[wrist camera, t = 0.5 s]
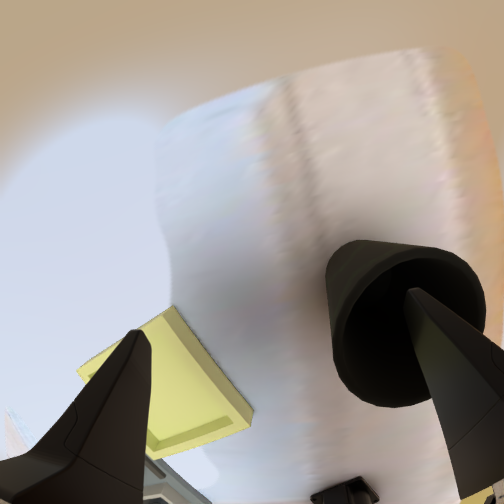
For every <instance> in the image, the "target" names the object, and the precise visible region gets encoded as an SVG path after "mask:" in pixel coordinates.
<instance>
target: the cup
mask: <svg viewBox="0 0 504 504" xmlns="http://www.w3.org/2000/svg"><path fill="white" fill-rule="evenodd" d="M325 278H326V287H327V296H328V306H329V315H330V326H331V336H332V348H333V361H334V363H335V366H336V369H337V372H338V375H339V378H340V379H341V380H342V382H343V383H344V384H345V386H346V387H347V388H348V390H349V391H350V392H351V393H353V394H354V395H355V396H357V397H358V398H359V399H361V400H362V401H365V402H367V403H370V404H373V405H375V406H379V407H389V408H398V407H406V406H412V405H415V404H418V403H421V402H423V401H426V400H429V399H431V398H432V397H431V394H430V391H429V388H428V385H427V383H426V380H425V377H424V374H423V372H422V369H421V366H420V364H419V361H418V358H417V356H416V353H415V350H414V347H413V343H412V340H411V336H410V332H409V329H408V325H407V322H406V319H405V315H404V311H403V306H404V301H405V297H406V293H407V291H408V290H409V289H412V288H420V289H422V290H423V291H425V292H426V293H428V294H429V295H430V296H432V297H433V298H435V299H436V300H437V301H439V302H440V303H442V304H443V305H444V306H446V307H447V308H448V309H450V310H451V311H453V312H454V313H455V314H457V315H458V316H459V317H461V318H462V319H463V320H465V321H466V322H467V323H469V324H470V325H471V326H473V327H474V328H475V329H477V330H478V331H479V332H481V333H482V334H483V332H484V328H485V319H486V304H485V296H484V291H483V289H482V286H481V283H480V281H479V279H478V276H477V275H476V274H475V272H474V271H473V270H472V268H471V267H470V266H469V265H468V263H467V262H465V261H464V260H462V259H461V258H460V257H458V256H457V255H455V254H454V253H452V252H448V251H445V250H442V249H438V248H434V247H425V246H416V245H407V244H398V243H388V242H379V241H369V240H356V241H352V242H349V243H347V244H345V245H343V246H341V247H340V248H339V249H338V250H337V251H336V252H335V253H334V254H333V256H332V257H331V259H330V260H329V263H328V265H327V268H326V275H325Z"/></svg>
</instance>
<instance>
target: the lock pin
mask: <svg viewBox="0 0 504 504" xmlns="http://www.w3.org/2000/svg"><path fill="white" fill-rule="evenodd" d="M149 504H169V503H168V502H166V501H165V500H164V499H163V498H161V497H159V498H153V499H151V500H150V503H149Z"/></svg>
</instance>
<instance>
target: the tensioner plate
mask: <svg viewBox="0 0 504 504" xmlns="http://www.w3.org/2000/svg"><path fill="white" fill-rule="evenodd" d="M159 497H161V498H163V499H164V500H165V501H166V502H168V503H169V504H212V503H211V502H210V501H209V500H208V499H206V498H205V497H204V496H203V495H201V494H200V493H199V492H198V491H197V490H196V489H194V488H193V487H192V486H191V485H190V484H189V483H187V482H186V481H185V480H184V479H183V478H182V477H181V476H180V475H178V474H177V473H176V472H175V471H174V470H173V469H172V468H171V467H170V466H169V465H168V464H167V463H166V462H165V461H163V459H162V458H160V459H157V460H153V459H152V458H150V457H149V456H148V455H147V454H146V453H145V469H144V489H143V504H149V503H150V500H151V499H153V498H159Z"/></svg>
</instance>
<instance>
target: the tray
mask: <svg viewBox="0 0 504 504" xmlns="http://www.w3.org/2000/svg"><path fill="white" fill-rule="evenodd" d="M137 329H141V330H143V332H144V333H145V335H146V337H147V338H148V340H149V342H150V344H151V347H152V384H151V398H150V407H149V417H148V428H147V440H146V454H147V455H148V456H149V457H150V458H152V459H153V460H157V459H160V458H164V457H167V456H170V455H173V454H177V453H180V452H183V451H186V450H189V449H192V448H195V447H198V446H201V445H204V444H207V443H210V442H213V441H215V440H218V439H221V438H223V437H226V436H229V435H231V434H234V433H236V432H239V431H241V430H244V429H246V428H249V427H251V422H252V416H253V411H254V410H253V409H252V408H251V407H250V405H249V404H248V403H247V402H246V401H245V399H244V398H243V397H242V396H241V395H240V393H239V392H238V391H237V390H236V388H235V387H234V386H233V385H232V383H231V382H230V381H229V380H228V378H227V377H226V376H225V375H224V373H223V372H222V371H221V370H220V368H219V367H218V366H217V364H216V363H215V362H214V361H213V359H212V358H211V357H210V355H209V354H208V353H207V351H206V350H205V349H204V347H203V346H202V345H201V343H200V342H199V341H198V339H197V338H196V337H195V335H194V334H193V333H192V331H191V330H190V329H189V327H188V326H187V324H186V323H185V322H184V320H183V319H182V317H181V316H180V315H179V313H178V312H177V310H176V309H175V308H174V306H171V307H170V308H168V309H167V310H165V311H164V312H162V313H160V314H159V315H157V316H156V317H154V318H153V319H151V320H150V321H148V322H147V323H145V324H144V325H142V326H140V327H139V328H137ZM122 339H123V338H122ZM122 339H120V340H119V341H117V342H116V343H114V344H113V345H111V346H110V347H108V348H107V349H105V350H104V351H102V352H101V353H99V354H97V355H96V356H94V357H93V358H91V359H90V360H89V361H87V362H86V363H85V364H83V365H82V366H81V367H80V368H79V369H77V370H76V371H77V373H78V374H79V376H80V377H81V378H82V380H83V381H84V382H85V384H87V383H88V382H89V380H90V379H91V378H92V376H93V375H94V374H95V373H96V371H97V370H98V369H99V368H100V366H101V365H102V364H103V363H104V361H105V360H106V359H107V358H108V356H109V355H110V354H111V353H112V352H113V350H114V349H115V348H116V347H117V345H118V344H119V343H120V342H121V341H122Z"/></svg>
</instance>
